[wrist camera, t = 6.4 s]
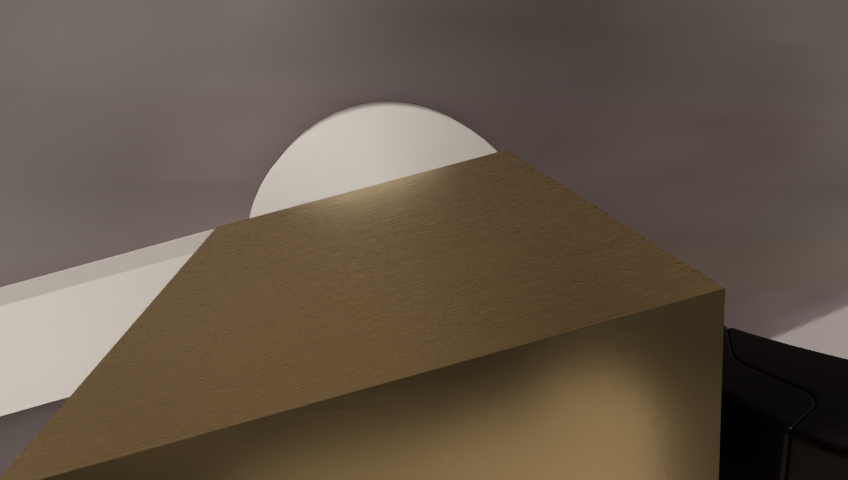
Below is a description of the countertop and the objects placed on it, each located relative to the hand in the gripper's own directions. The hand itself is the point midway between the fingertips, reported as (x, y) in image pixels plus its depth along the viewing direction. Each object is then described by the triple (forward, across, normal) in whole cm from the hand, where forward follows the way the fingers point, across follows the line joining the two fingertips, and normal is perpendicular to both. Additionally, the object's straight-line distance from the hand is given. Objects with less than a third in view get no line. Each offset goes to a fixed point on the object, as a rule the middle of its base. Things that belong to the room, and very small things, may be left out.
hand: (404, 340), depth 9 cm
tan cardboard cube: (+1, 0, 0) cm, 1 cm away
